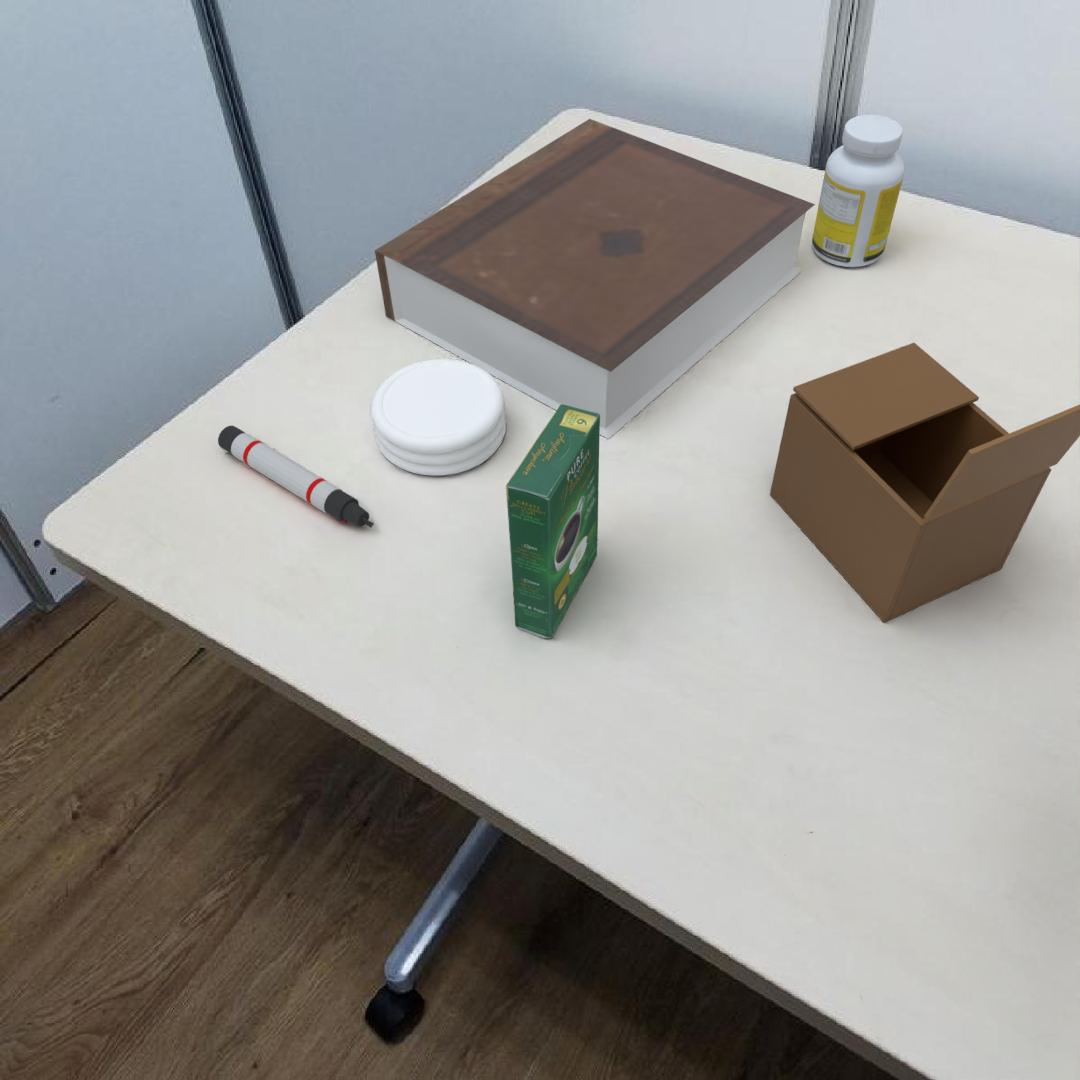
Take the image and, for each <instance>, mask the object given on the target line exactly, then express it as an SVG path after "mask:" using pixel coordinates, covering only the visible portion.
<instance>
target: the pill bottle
mask: <svg viewBox="0 0 1080 1080" xmlns="http://www.w3.org/2000/svg"><path fill="white" fill-rule="evenodd" d="M903 133H904V129H903V126H902V125H901V124H900V123H899V122H897V121H896V120H895V119H892V118H891V117H887V116H884V115H877V114H862V115H857V116H854V117H852V118H850V119H849V120H847V122H846V123H845V125H844V128H843V133H842V137H841V142H842V145H840V146H839V147H837V148H836V149H835V150H834V151H833V152H832V153H830V155H829V157H828V159H827V161H826V165H825V170H824V175H823V179H822V185H821V191H820V195H819V201H818V207H817V212H816V216H815V222H814V227H813V233H812V237H811V238H812V239H811V242H812V243H811V245H812V249H813V250H814V252H815V254H816V255H817V256H818V257H820V258H821V260H824V261H825V262H827V263H829V264H833V265H835V266H839V267H846V268H859V267H864V266H869V265H871V264H873V263H875V262H876V261H878V260H879V259H880V258H881V257H882V255H883V254H884V252H885V249H886V246H887V242H888V238H889V234H890V231H891V227H892V222H893V218H894V215H895V211H896V207H897V204H898V199H899V196H900V192H901V187H902V184H903V179H904V175H905V171H906V170H905V162H904V160H903V157H902V156H901V155H900V153H898V152H897V151H898V150H899V149H900V146H901V143H902V137H903Z"/></svg>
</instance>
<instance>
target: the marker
mask: <svg viewBox="0 0 1080 1080" xmlns="http://www.w3.org/2000/svg"><path fill="white" fill-rule="evenodd" d="M217 444H218V446H219V447H220V448H221V449H222V450H224V451H225V452H227V453H228V454H231V455H232V456H233V457H234V458H236V459H238V461H241V462H242V463H244V464H245V465H247V466H249V467H250V468H252V469H253V470H255V471H257V472H259V473H260V474H262V475H263V476H264V477H267V478H268V479H270V480H272V481H273V482H275V483H276V484H278V485H280V486H281V487H283V488H284V489H286V490H288V491H289V492H291V493H292V494H294V495H296V496H297V497H299V498H300V499H302V500H304V501H306V502H307V503H309V504H310V505H312V506H313V507H315V508H317V509H319V510H320V511H321V512H323V513H325V514H326V515H329V516H331V517H332V518H334V519H336V520H337V521H339V522H340V523H342V524H346V523H350V524H351V525H354V526H356V527H359V528H363V527H364V526H367V527H368V528H370V529H372V527H373V526H374V522H372V521H371V520H369V519H370V513H369V512H368V511H367V510H366V509H364V508H363V506H361V505H360V503H359V500H358V499H357V498H355V497H354V496H352V495H351V494H348V493H346V492H345V491H343V490H342V489H341V488H340V487H338V486H336V485H335V484H333V483H331V482H329V481H328V480H326V479H325V478H323V477H322V476H319V475H318V474H316V473H315V472H313V471H311V470H309V469H308V468H306V467H305V466H303V465H302V464H299V463H298V462H296V461H294V460H293V459H291V458H289V457H288V456H286V455H284V454H282V453H281V452H280V451H278V450H276V449H275V448H273V447H271V446H269V445H268V444H266V443H265V442H263V441H261V440H259V439H258V438H256V437H254V436H253V435H251V434H249V433H247V432H246V431H244V430H242V429H240V428H239V427H237V426H234V425H228V426H225V427H224V428H223V429H222V430H221V431H220V432H219V434H218V438H217Z"/></svg>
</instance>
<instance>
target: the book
mask: <svg viewBox="0 0 1080 1080" xmlns="http://www.w3.org/2000/svg"><path fill="white" fill-rule="evenodd" d="M815 205H816V203H813V202H810V201H808V200H804V199H802V198H799V197H798V196H795V195H792V194H789V193H786V192H785V191H781V190H779V189H775V188H773V187H771V186H768V185H765V184H763V183H761V182H757V181H755V180H752V179H750V178H748V177H744V176H743V175H739V174H736V173H734V172H731V171H729V170H726V169H724V168H721V167H717V166H715V165H712V164H711V163H707V162H706V161H705V162H704V161H702V160H699V159H697V158H694V157H692V156H689V155H686V154H683V153H682V152H678V151H675V150H674V149H671V148H669V147H666V146H663V145H660V144H657V143H655V142H652V141H650V140H647V139H644V138H642V137H639V136H636V135H634V134H631V133H628V132H626V131H623V130H621V129H618V128H615V127H613V126H610V125H607V124H606V123H602V122H600V121H597V120H594V119H592V118H588V119H587V120H585V121H583V122H582V123H580V124H578V125H577V126H576V127H574V128H572V129H570V130H569V131H567V132H565V133H563V135H561V136H559V137H557V138H556V139H553V140H552V141H551V142H549V143H548V144H546V145H544V146H543V147H541V148H539V149H538V150H536V151H535V152H533V153H531V154H530V155H528V156H526V157H525V158H523V159H522V160H520V161H519V162H517V163H515V164H513V165H512V166H510V167H508V168H507V169H505V170H503V171H502V172H500V173H499V174H497V175H496V176H494V177H492V178H490V179H489V180H487V181H485V182H484V183H483V184H481V185H479V186H477V187H476V188H474V189H472V190H470V192H468V193H466V194H465V195H462V196H461V197H459V198H458V199H456V200H455V201H453V202H451V203H449V204H448V205H446V206H445V207H443V208H442V209H440V210H438V211H437V212H435V213H433V214H432V215H430V216H428V217H426V218H425V219H424V220H422V221H420V222H419V223H417V224H415V225H414V226H412V227H410V228H409V229H407V230H406V231H404V232H403V233H401V234H399V235H397V236H396V237H394V238H393V239H391V240H390V241H387V242H386V243H384V244H383V245H381V246H379V247H378V248H376V249H375V250H374V254H375V260H376V267H377V272H378V277H379V282H380V283H379V284H380V290H381V295H382V300H383V301H382V302H383V307H384V312H385V317H386V318H388V319H390V320H392V321H394V322H396V323H397V324H399V325H401V326H403V327H405V328H406V329H408V330H409V331H412V332H414V333H415V334H417V335H419V336H421V337H423V338H425V339H426V340H428V341H430V342H432V343H434V344H436V345H437V346H440V347H441V348H443V349H444V350H446V351H448V352H449V353H452V354H454V355H455V356H457V357H459V358H461V359H462V360H464V361H465V362H467V363H470V364H473V365H476V366H478V367H480V368H482V369H484V370H485V371H487V372H488V373H490V374H491V375H492V376H493V377H494V378H496V379H498V380H501V381H503V382H504V383H506V384H507V385H509V386H512V387H513V388H514V389H517V390H519V391H520V392H522V393H524V394H526V395H528V396H529V397H531V398H533V399H535V400H537V401H538V402H540V403H542V404H544V405H545V406H548V407H549V408H551V409H553V410H555V411H556V410H557V409H558V407H559V406H560V405H561V404H563V405H567V406H571V407H575V408H578V409H582V410H586V411H590V412H594V413H598V414H600V433H599V436H602V437H603V438H605V439H607V440H609V439H610V438H612V437H613V436H614V435H615V434H616V433H617V432H618V431H620V430H621V429H622V428H624V426H626V424H628V423H629V422H630V421H632V420H633V419H634V418H635V417H636V416H637V415H638V414H639V413H640V412H642V410H644V409H645V408H646V407H647V406H649V405H650V404H651V403H652V402H653V401H654V400H655V399H657V398H658V397H659V396H660V395H662V393H663V392H665V391H666V390H667V389H668V388H669V387H671V385H673V384H674V383H675V382H676V381H677V380H678V379H680V378H681V377H682V376H683V375H685V374H686V372H687V371H688V370H690V369H691V368H692V367H694V366H695V365H696V364H697V363H698V362H699V361H700V360H701V359H702V358H704V356H706V355H708V353H709V352H710V351H712V350H714V348H715V347H717V345H719V344H720V343H721V342H722V341H723V340H725V338H727V337H728V336H729V335H730V334H731V333H732V332H734V331H735V330H736V329H737V328H738V327H739V326H741V324H743V323H744V322H745V321H746V320H747V319H748V318H750V317H751V316H752V315H753V314H754V313H755V312H757V311H758V310H759V309H760V308H761V307H763V306H764V305H765V304H766V303H767V302H768V301H770V300H771V298H772V297H774V296H775V295H776V294H778V292H779V291H781V290H782V289H783V288H784V287H785V286H787V285H788V284H789V283H790V282H792V280H793V279H795V277H797V276H798V275H799V274H800V273H802V272H803V270H802V269H800V268H799V267H798V266H796V263H797V259H798V254H799V248H800V243H801V238H802V232H803V228H804V223H805V217H806V213H807V212H808V211H809V210H811V209H812V208H813V207H814V206H815Z"/></svg>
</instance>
